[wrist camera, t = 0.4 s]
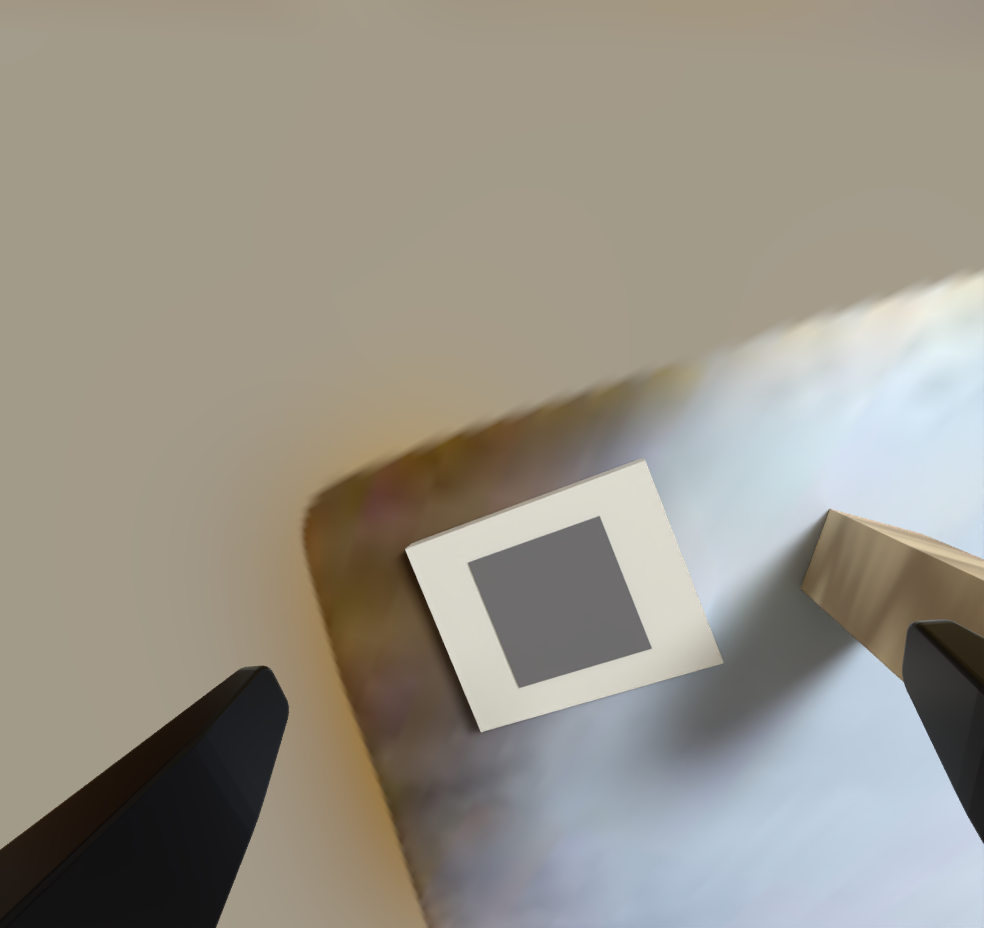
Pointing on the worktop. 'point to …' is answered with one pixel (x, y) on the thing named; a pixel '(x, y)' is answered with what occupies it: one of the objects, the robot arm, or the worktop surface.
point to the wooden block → (891, 583)
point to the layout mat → (564, 598)
